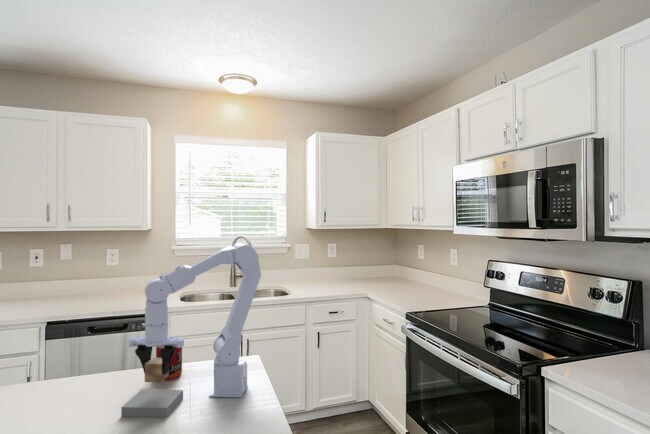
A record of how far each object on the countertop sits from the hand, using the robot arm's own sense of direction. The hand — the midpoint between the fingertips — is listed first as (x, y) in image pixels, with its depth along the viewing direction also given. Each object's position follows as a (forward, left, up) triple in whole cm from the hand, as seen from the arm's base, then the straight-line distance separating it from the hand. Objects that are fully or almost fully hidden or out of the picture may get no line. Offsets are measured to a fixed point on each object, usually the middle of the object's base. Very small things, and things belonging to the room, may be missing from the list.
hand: (156, 372), depth 102 cm
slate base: (0, +1, -9) cm, 9 cm away
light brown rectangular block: (0, 0, -2) cm, 2 cm away
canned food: (+5, -19, -9) cm, 22 cm away
